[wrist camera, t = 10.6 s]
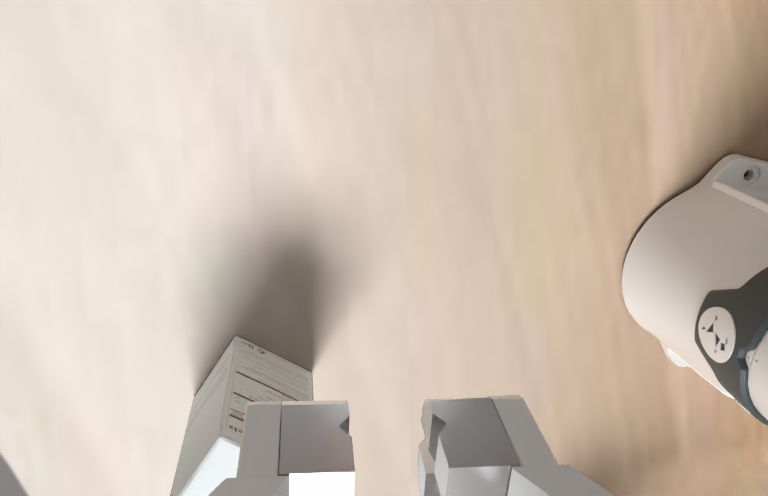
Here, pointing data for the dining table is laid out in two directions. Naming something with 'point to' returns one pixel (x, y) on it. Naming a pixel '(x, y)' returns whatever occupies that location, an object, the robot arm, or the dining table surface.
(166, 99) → the dining table surface
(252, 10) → the dining table surface
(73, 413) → the dining table surface
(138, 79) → the dining table surface
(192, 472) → the supplement box
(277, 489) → the robot arm
